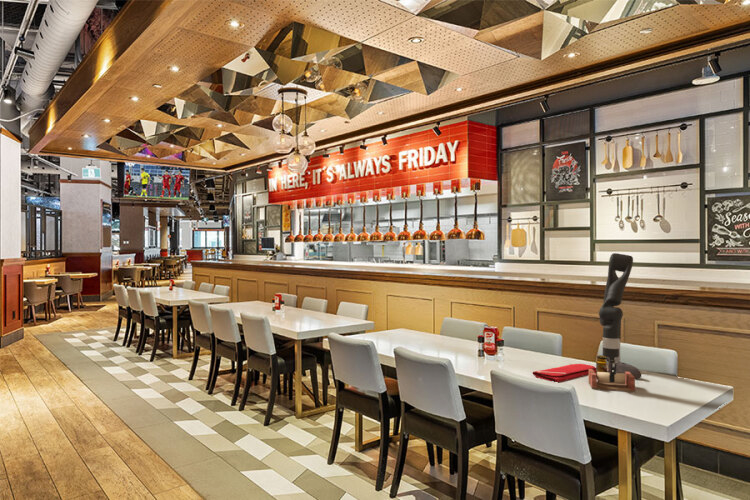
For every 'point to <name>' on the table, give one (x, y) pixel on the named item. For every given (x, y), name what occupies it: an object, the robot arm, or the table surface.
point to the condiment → (601, 364)
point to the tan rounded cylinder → (605, 377)
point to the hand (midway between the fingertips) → (610, 380)
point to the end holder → (626, 387)
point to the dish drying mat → (564, 372)
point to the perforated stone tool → (627, 369)
